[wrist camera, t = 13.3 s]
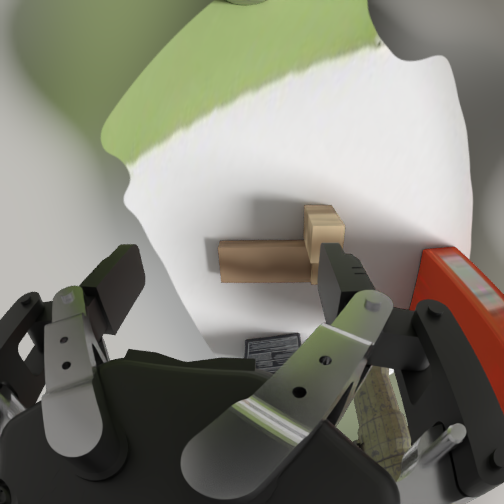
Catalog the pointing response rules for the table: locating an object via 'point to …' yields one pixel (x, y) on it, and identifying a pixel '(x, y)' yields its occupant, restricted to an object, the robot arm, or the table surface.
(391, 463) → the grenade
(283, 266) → the brown block
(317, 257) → the wooden brick
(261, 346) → the small box
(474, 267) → the file binder
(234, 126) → the table surface
